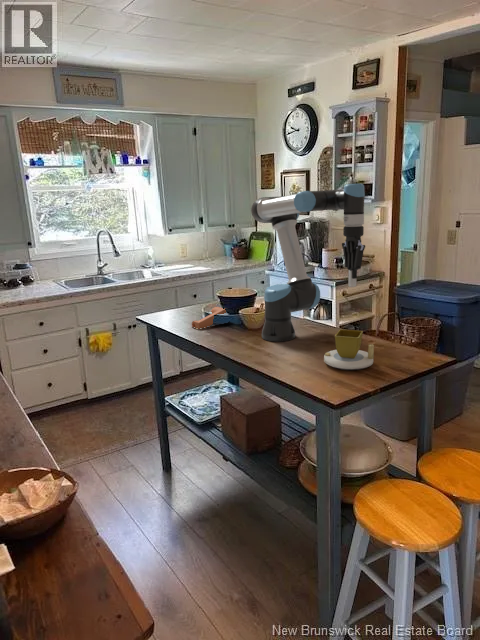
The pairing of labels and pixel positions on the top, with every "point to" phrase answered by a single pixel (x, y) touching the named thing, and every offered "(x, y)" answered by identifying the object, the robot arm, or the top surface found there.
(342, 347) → the flower pot
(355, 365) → the disc
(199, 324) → the crank
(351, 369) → the turntable base
